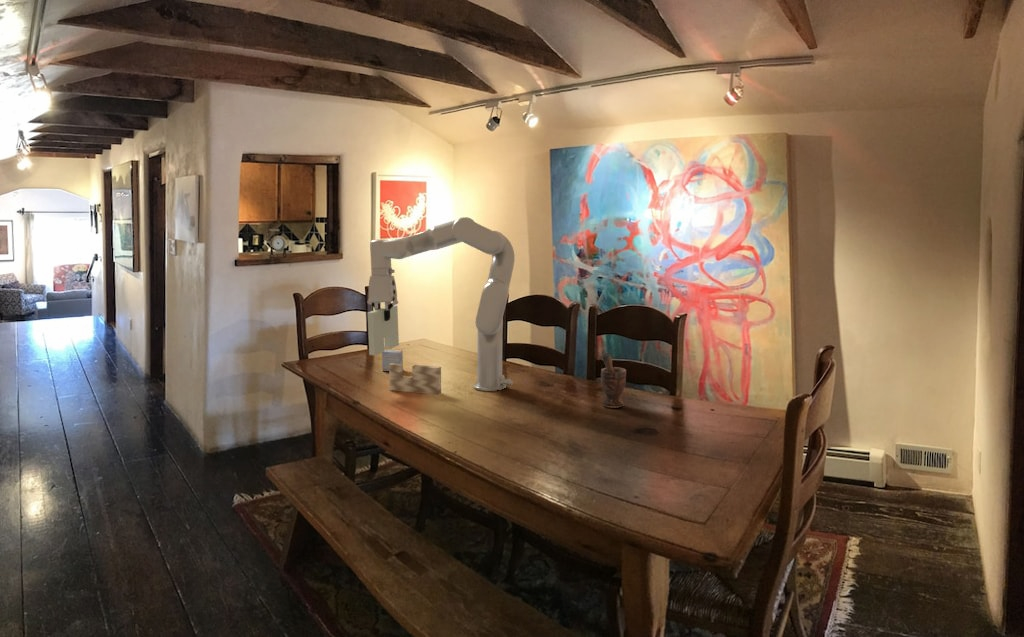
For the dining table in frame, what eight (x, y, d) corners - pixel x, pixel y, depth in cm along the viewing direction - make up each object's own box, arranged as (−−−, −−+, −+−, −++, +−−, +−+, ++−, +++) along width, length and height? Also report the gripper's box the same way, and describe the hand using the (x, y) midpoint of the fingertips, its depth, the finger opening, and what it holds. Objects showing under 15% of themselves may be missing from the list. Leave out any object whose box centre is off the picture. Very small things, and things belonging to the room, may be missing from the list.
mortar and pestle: (624, 413, 225) (626, 355, 222) (598, 411, 227) (600, 354, 224) (625, 403, 236) (627, 348, 233) (601, 402, 238) (602, 347, 235)
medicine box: (403, 370, 285) (402, 350, 284) (400, 372, 281) (400, 352, 280) (385, 369, 286) (384, 349, 285) (382, 371, 282) (381, 351, 280)
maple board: (441, 392, 249) (440, 366, 248) (438, 394, 247) (438, 368, 245) (392, 388, 255) (391, 363, 253) (389, 390, 252) (389, 364, 251)
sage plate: (393, 344, 266) (391, 305, 264) (398, 345, 266) (397, 305, 263) (369, 355, 247) (367, 312, 245) (375, 355, 247) (373, 312, 244)
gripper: (405, 271, 253) (406, 319, 256) (367, 271, 258) (369, 318, 260) (396, 273, 246) (398, 322, 249) (357, 272, 250) (359, 321, 253)
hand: (383, 319), depth 255 cm, fingers closed on sage plate, 2 cm apart
